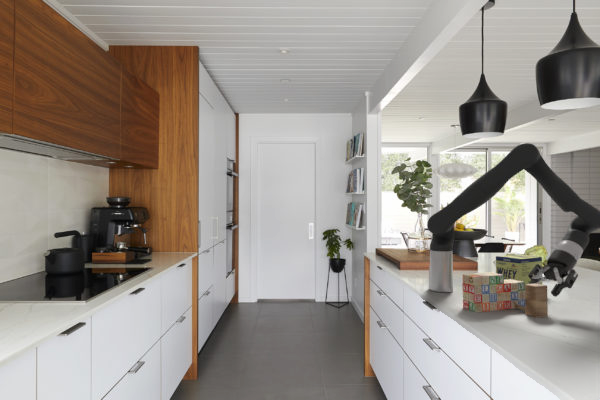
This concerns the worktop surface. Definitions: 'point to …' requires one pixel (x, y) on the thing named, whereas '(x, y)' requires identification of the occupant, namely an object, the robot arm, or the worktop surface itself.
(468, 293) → the stack of blocks
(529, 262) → the protein box
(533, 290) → the wooden mallet
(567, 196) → the robot arm
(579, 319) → the worktop surface
